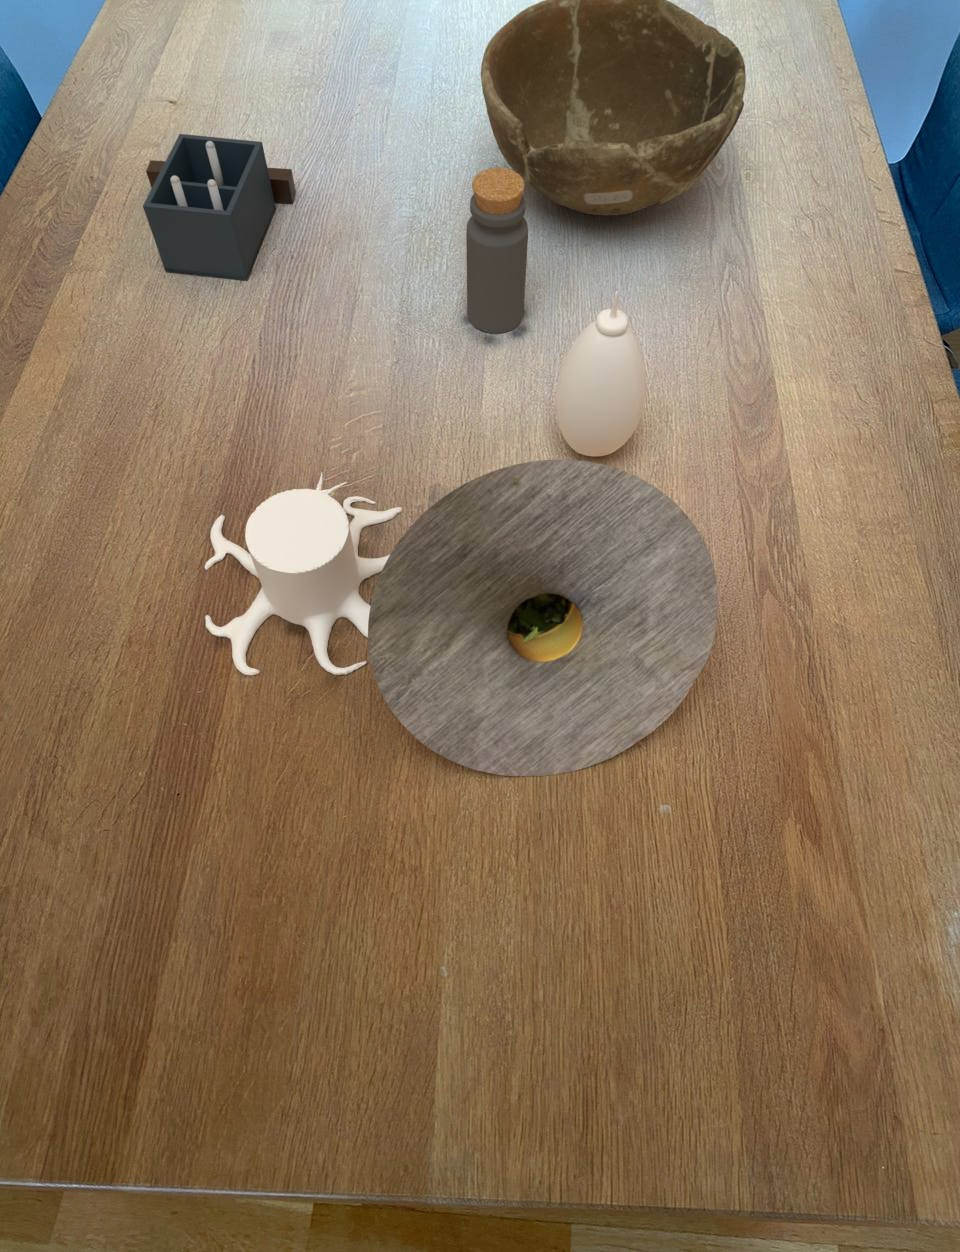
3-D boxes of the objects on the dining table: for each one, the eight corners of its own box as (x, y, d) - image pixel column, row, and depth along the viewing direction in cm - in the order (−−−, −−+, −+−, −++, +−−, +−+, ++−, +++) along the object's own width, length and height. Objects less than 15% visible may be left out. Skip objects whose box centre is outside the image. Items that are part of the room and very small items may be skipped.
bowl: (651, 308, 98) (678, 177, 85) (435, 218, 105) (429, 85, 92) (757, 167, 110) (795, 33, 97) (556, 95, 117) (566, -39, 104)
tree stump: (446, 512, 85) (443, 453, 78) (392, 703, 75) (384, 656, 68) (234, 476, 87) (213, 415, 80) (156, 658, 77) (124, 607, 70)
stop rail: (292, 204, 106) (288, 180, 103) (153, 195, 107) (145, 171, 104) (296, 192, 107) (291, 168, 104) (158, 184, 108) (150, 160, 105)
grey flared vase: (689, 678, 84) (658, 400, 76) (746, 771, 68) (714, 429, 60) (416, 726, 85) (356, 456, 77) (406, 829, 69) (328, 500, 61)
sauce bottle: (639, 475, 87) (675, 324, 71) (555, 479, 87) (573, 329, 71) (626, 411, 91) (658, 255, 75) (546, 415, 91) (561, 259, 75)
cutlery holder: (247, 281, 100) (226, 201, 92) (165, 272, 100) (137, 192, 92) (276, 208, 106) (259, 128, 97) (198, 200, 106) (175, 120, 98)
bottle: (527, 298, 99) (535, 166, 86) (518, 337, 96) (525, 207, 83) (472, 291, 99) (472, 159, 86) (462, 330, 96) (460, 200, 83)
